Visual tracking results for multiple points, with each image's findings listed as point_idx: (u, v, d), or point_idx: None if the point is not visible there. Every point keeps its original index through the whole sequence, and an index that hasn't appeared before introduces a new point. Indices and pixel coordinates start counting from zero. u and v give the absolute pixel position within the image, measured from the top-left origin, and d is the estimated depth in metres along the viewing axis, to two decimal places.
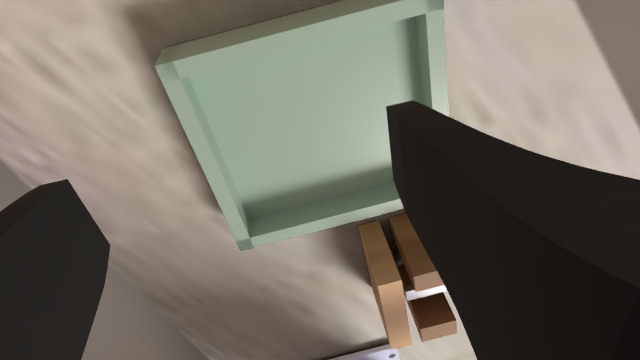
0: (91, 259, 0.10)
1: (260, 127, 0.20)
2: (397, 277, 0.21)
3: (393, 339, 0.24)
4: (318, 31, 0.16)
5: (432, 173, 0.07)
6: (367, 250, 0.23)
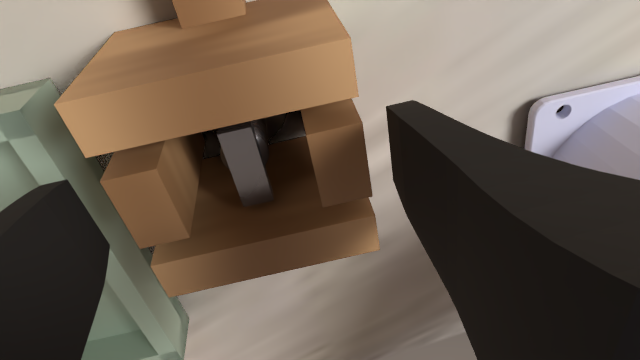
0: (91, 259, 0.10)
1: None
2: None
3: (344, 251, 0.11)
4: None
5: (432, 173, 0.07)
6: None
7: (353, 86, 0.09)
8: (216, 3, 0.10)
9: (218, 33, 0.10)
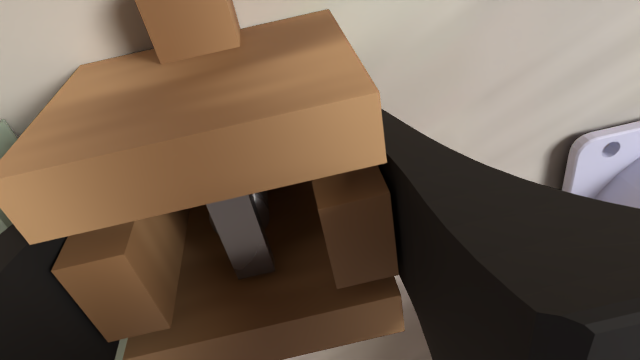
0: None
1: None
2: None
3: (361, 334, 0.09)
4: None
5: (390, 183, 0.07)
6: None
7: (380, 151, 0.07)
8: (203, 33, 0.08)
9: (205, 74, 0.08)
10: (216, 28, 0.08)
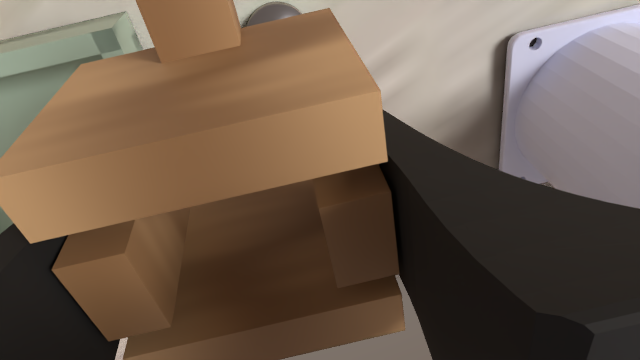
0: None
1: None
2: None
3: (362, 333, 0.09)
4: None
5: (390, 183, 0.07)
6: None
7: (381, 150, 0.07)
8: (203, 32, 0.08)
9: (205, 73, 0.08)
10: (217, 27, 0.08)
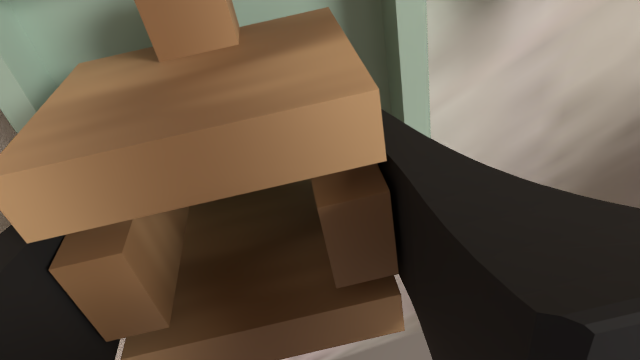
0: None
1: None
2: None
3: (361, 333, 0.09)
4: None
5: (390, 183, 0.07)
6: None
7: (380, 149, 0.07)
8: (202, 31, 0.08)
9: (203, 72, 0.08)
10: (215, 26, 0.08)
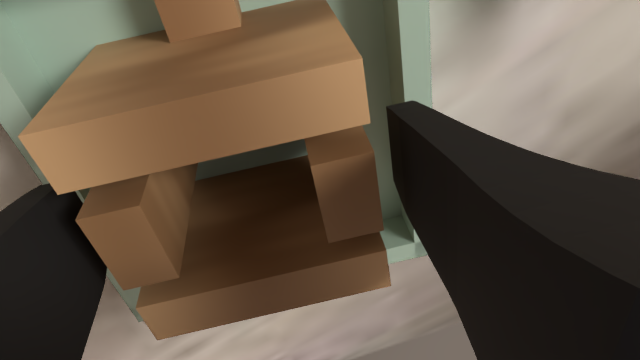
0: (91, 259, 0.10)
1: None
2: (140, 304, 0.10)
3: (351, 288, 0.10)
4: None
5: (432, 173, 0.07)
6: None
7: (364, 112, 0.08)
8: (208, 14, 0.09)
9: (210, 49, 0.09)
10: (220, 9, 0.09)
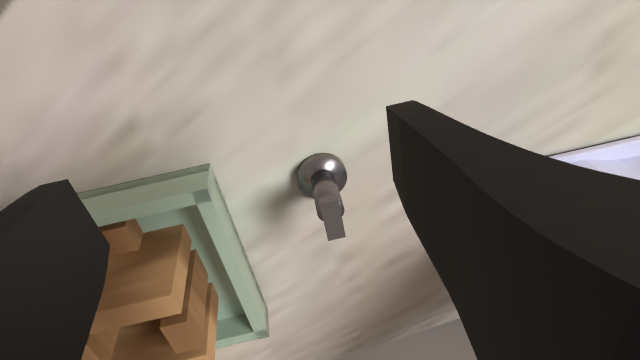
0: (91, 259, 0.10)
1: None
2: None
3: None
4: None
5: (432, 173, 0.07)
6: None
7: (177, 310, 0.18)
8: (122, 246, 0.20)
9: (120, 270, 0.20)
10: (127, 244, 0.20)
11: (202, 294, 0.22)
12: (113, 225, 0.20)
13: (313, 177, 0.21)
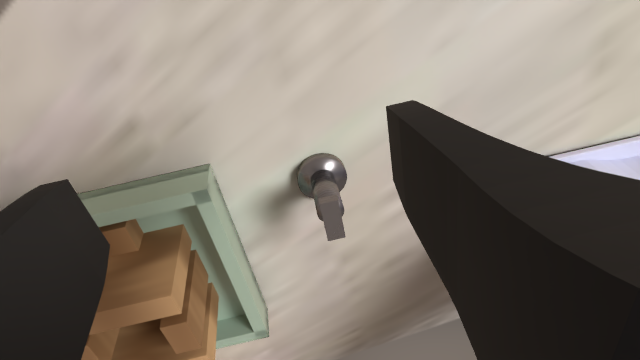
0: (91, 259, 0.10)
1: None
2: None
3: None
4: None
5: (432, 173, 0.07)
6: None
7: (177, 310, 0.18)
8: (122, 247, 0.20)
9: (120, 270, 0.20)
10: (128, 245, 0.20)
11: (202, 294, 0.22)
12: (113, 225, 0.20)
13: (313, 177, 0.21)
